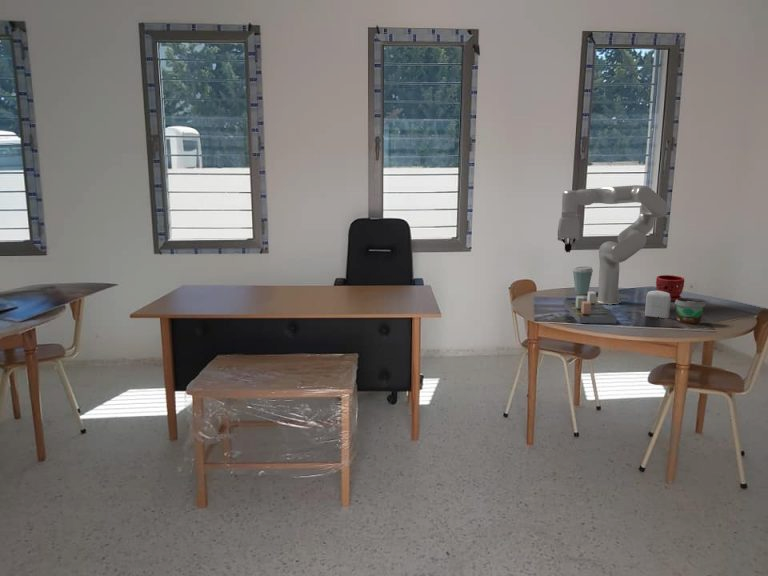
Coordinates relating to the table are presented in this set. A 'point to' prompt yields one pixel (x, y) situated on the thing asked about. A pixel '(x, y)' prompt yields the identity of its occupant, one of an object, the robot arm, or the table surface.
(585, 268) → the disposable coffee cup
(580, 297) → the slider sage
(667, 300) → the photo printer
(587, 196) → the robot arm
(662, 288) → the plant pot
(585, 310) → the slider terracotta
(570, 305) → the grey slotted slider board
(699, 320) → the food container
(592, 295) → the slider ivory
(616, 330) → the table surface
